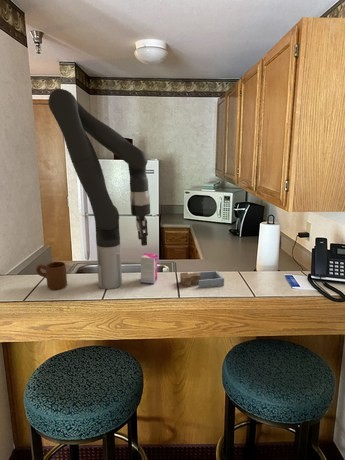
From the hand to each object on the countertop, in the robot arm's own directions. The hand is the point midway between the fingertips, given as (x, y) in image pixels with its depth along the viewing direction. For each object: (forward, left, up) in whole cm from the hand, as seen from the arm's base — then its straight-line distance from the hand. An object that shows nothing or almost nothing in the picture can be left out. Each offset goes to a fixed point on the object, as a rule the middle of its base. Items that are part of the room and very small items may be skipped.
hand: (142, 242), depth 133 cm
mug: (-37, +3, -18) cm, 41 cm away
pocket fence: (+27, -6, -17) cm, 33 cm away
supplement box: (+2, 0, -18) cm, 18 cm away
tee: (+19, -6, -17) cm, 26 cm away
